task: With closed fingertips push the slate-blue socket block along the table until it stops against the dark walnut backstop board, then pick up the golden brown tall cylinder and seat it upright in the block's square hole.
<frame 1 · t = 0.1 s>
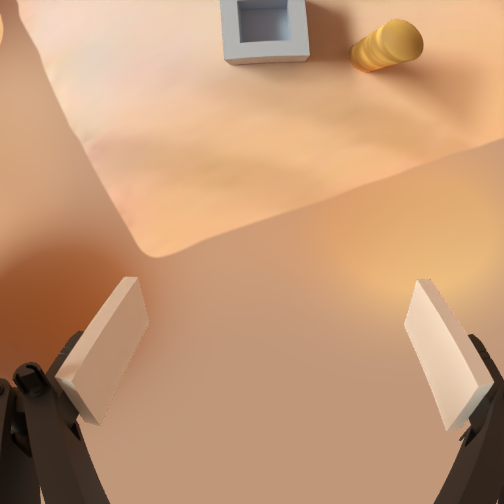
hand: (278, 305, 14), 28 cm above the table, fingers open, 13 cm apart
block: (264, 24, 28), point 3 cm above the table, slide at 0.0 cm
golden brown tall cylinder: (364, 57, 31), on the table
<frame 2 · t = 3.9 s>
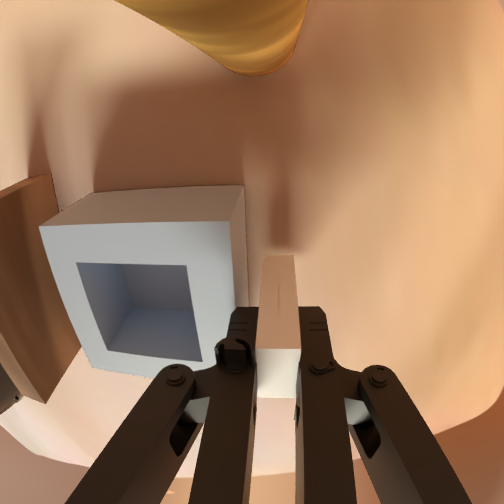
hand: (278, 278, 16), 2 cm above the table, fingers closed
block: (156, 286, 16), point 3 cm above the table, slide at 1.7 cm, touching gripper
golden brown tall cylinder: (253, 38, 12), on the table
backstop: (58, 258, 19), on the table
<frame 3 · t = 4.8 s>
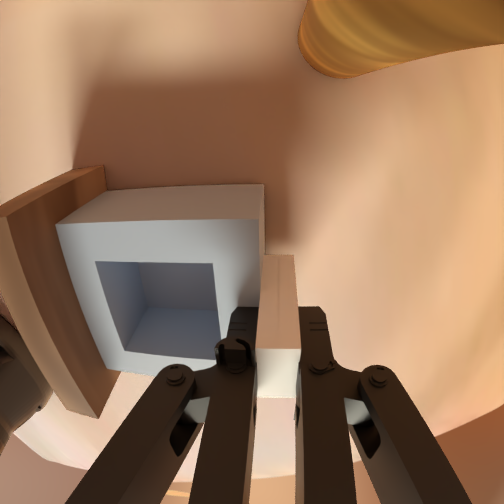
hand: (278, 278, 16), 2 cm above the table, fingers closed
block: (175, 285, 16), point 3 cm above the table, slide at 4.8 cm, touching backstop, gripper
golden brown tall cylinder: (338, 41, 12), on the table
backstop: (105, 258, 18), on the table
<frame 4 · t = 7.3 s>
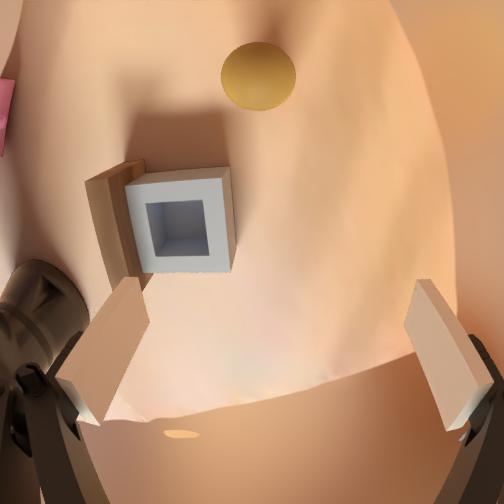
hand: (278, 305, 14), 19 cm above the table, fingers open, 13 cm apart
block: (184, 219, 30), point 3 cm above the table, slide at 4.8 cm, touching backstop
golden brown tall cylinder: (264, 88, 26), on the table
backstop: (142, 213, 33), on the table
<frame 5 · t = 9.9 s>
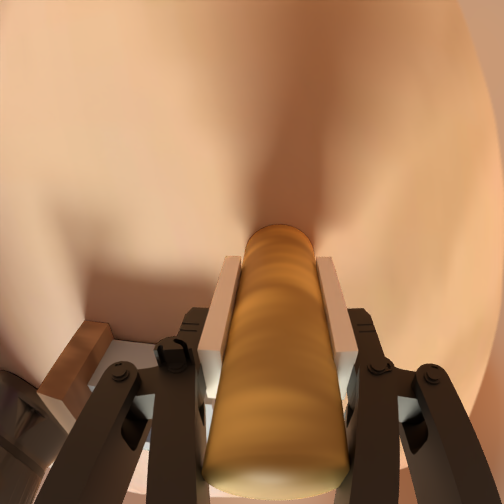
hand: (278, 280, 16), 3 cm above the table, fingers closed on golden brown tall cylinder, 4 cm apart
block: (168, 405, 22), point 3 cm above the table, slide at 4.8 cm, touching backstop
golden brown tall cylinder: (279, 256, 18), on the table, touching gripper
backstop: (117, 372, 25), on the table
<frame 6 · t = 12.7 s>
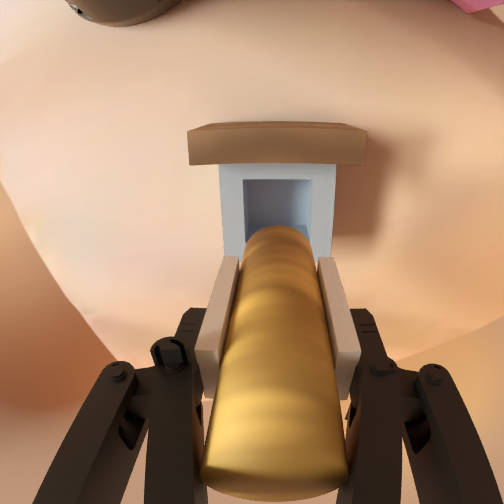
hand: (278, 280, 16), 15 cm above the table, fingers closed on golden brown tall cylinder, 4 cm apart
block: (277, 202, 27), point 3 cm above the table, slide at 4.8 cm, touching backstop
golden brown tall cylinder: (278, 257, 18), point 13 cm above the table, touching gripper
backstop: (277, 134, 27), on the table
when the fingers open (7 cm above the table, at t = 15.4 s): golden brown tall cylinder drops 2 cm, resting on block.
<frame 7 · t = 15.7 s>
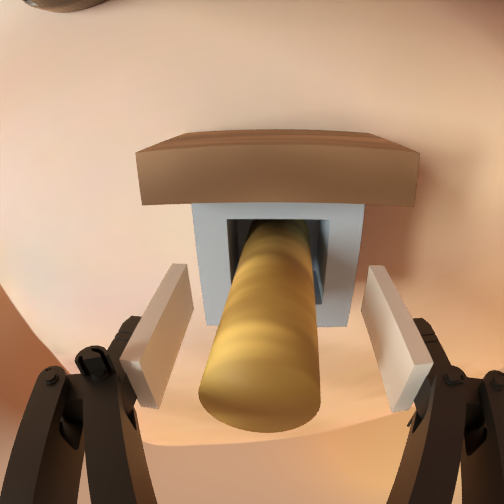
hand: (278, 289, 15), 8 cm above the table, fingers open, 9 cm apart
block: (278, 245, 19), point 3 cm above the table, slide at 4.8 cm, touching golden brown tall cylinder
golden brown tall cylinder: (278, 236, 21), point 1 cm above the table, touching block
backstop: (277, 147, 19), on the table
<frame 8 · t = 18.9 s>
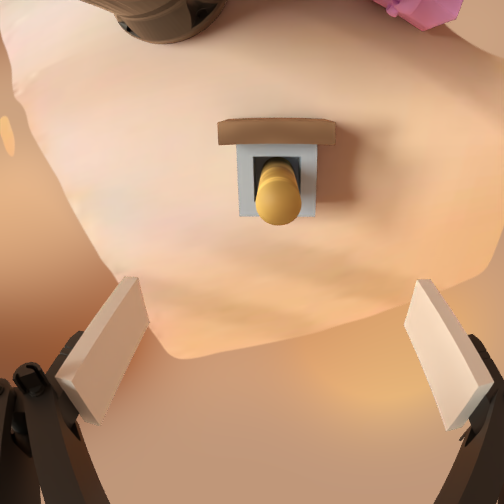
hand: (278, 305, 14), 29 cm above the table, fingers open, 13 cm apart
block: (277, 174, 37), point 3 cm above the table, slide at 4.8 cm, touching golden brown tall cylinder
golden brown tall cylinder: (277, 172, 38), point 1 cm above the table, touching block
backstop: (276, 127, 37), on the table
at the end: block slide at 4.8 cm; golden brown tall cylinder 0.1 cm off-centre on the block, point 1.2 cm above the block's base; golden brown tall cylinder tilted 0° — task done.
